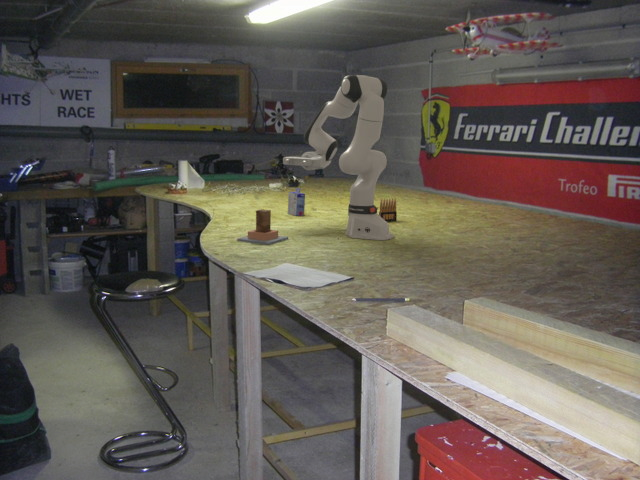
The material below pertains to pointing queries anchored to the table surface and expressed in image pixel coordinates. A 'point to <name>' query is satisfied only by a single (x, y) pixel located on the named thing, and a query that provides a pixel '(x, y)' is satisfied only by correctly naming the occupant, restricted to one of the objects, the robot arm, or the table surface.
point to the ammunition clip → (388, 210)
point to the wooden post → (263, 221)
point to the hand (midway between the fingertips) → (295, 162)
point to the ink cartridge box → (296, 203)
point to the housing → (263, 237)
